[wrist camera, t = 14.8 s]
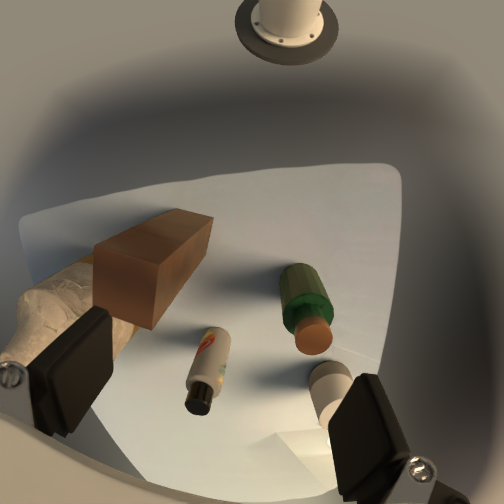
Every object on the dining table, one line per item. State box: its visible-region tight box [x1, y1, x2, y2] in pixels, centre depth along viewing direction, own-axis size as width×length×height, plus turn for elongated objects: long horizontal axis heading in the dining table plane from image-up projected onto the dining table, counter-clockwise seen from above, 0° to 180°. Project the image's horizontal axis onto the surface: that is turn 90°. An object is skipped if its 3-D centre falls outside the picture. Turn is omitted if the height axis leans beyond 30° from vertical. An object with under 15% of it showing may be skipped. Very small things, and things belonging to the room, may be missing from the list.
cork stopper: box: [294, 317, 333, 355], centre depth 35 cm, size 5×5×5 cm
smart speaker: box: [309, 361, 353, 430], centre depth 50 cm, size 10×9×14 cm
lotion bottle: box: [185, 327, 231, 416], centre depth 46 cm, size 6×6×20 cm
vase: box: [0, 253, 140, 367], centre depth 39 cm, size 18×18×30 cm
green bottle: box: [280, 263, 334, 335], centre depth 43 cm, size 7×7×17 cm
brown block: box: [92, 208, 214, 330], centre depth 37 cm, size 7×7×26 cm
